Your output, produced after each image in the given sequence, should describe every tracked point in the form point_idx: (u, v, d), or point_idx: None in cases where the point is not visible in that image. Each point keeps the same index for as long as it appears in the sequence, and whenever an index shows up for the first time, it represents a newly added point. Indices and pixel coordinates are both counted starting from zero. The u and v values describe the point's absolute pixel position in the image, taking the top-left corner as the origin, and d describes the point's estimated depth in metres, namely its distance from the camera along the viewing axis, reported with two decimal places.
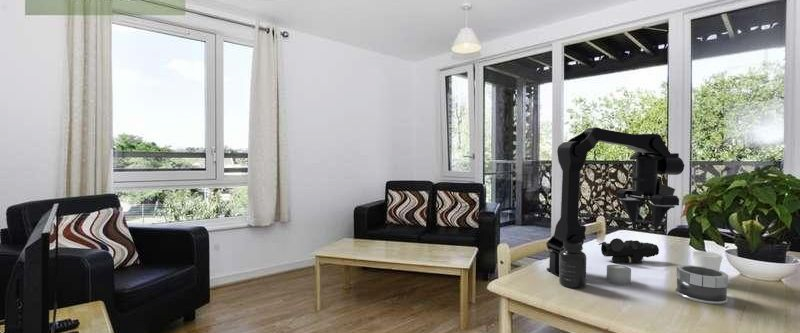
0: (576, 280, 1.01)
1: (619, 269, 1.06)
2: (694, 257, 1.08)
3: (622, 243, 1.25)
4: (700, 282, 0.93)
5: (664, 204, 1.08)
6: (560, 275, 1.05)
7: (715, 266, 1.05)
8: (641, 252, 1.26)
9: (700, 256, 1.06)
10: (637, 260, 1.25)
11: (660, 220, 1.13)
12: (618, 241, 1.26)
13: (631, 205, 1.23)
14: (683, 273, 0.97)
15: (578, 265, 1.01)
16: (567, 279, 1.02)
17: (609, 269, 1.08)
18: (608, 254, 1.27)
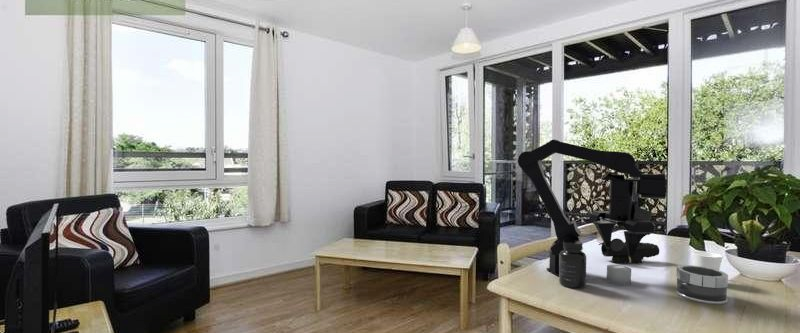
0: (576, 280, 1.01)
1: (619, 269, 1.06)
2: (694, 257, 1.08)
3: (622, 243, 1.24)
4: (700, 282, 0.93)
5: (638, 231, 0.98)
6: (560, 275, 1.05)
7: (715, 266, 1.05)
8: (641, 252, 1.26)
9: (700, 256, 1.06)
10: (637, 260, 1.25)
11: (635, 248, 1.02)
12: (618, 241, 1.26)
13: (605, 229, 1.12)
14: (683, 273, 0.97)
15: (578, 265, 1.01)
16: (567, 279, 1.02)
17: (609, 269, 1.07)
18: (608, 254, 1.27)
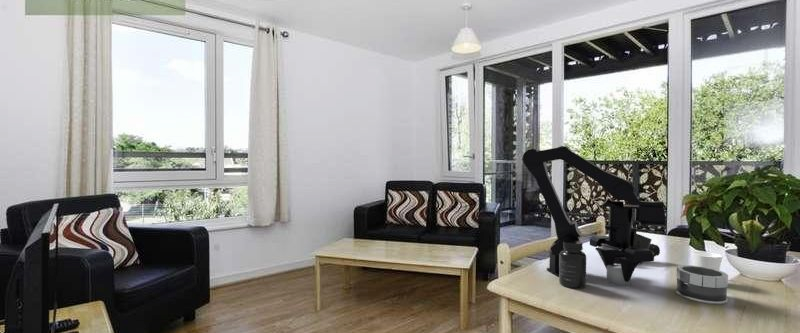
0: (576, 280, 1.01)
1: (619, 269, 1.06)
2: (694, 257, 1.08)
3: None
4: (700, 282, 0.93)
5: (637, 260, 0.98)
6: (560, 275, 1.05)
7: (715, 266, 1.05)
8: None
9: (700, 256, 1.06)
10: None
11: (630, 274, 1.04)
12: None
13: (608, 256, 1.11)
14: (683, 273, 0.97)
15: (578, 265, 1.01)
16: (567, 279, 1.02)
17: (609, 269, 1.07)
18: None
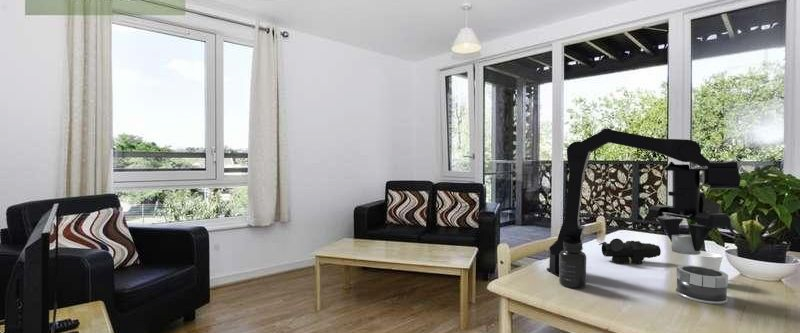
0: (576, 280, 1.01)
1: (688, 238, 0.97)
2: (694, 257, 1.08)
3: (622, 243, 1.24)
4: (700, 282, 0.93)
5: (713, 225, 0.89)
6: (560, 275, 1.05)
7: (715, 266, 1.05)
8: (641, 252, 1.25)
9: (700, 256, 1.06)
10: (637, 261, 1.25)
11: (701, 242, 0.95)
12: (618, 241, 1.25)
13: (672, 225, 1.02)
14: (683, 273, 0.97)
15: (578, 265, 1.01)
16: (567, 279, 1.02)
17: (676, 238, 0.98)
18: (608, 254, 1.27)
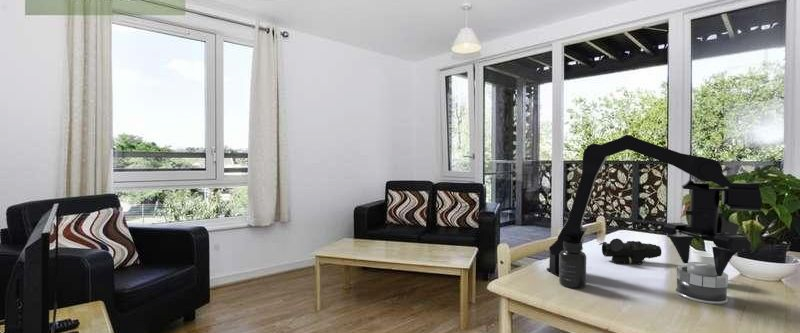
0: (576, 280, 1.01)
1: (704, 267, 0.95)
2: (694, 257, 1.08)
3: (621, 243, 1.24)
4: (700, 282, 0.93)
5: (732, 248, 0.87)
6: (560, 275, 1.05)
7: None
8: (642, 252, 1.25)
9: (700, 256, 1.06)
10: (638, 261, 1.24)
11: (724, 265, 0.92)
12: (618, 241, 1.25)
13: (682, 243, 1.02)
14: (683, 273, 0.97)
15: (578, 265, 1.01)
16: (567, 279, 1.02)
17: (692, 267, 0.96)
18: (608, 254, 1.27)
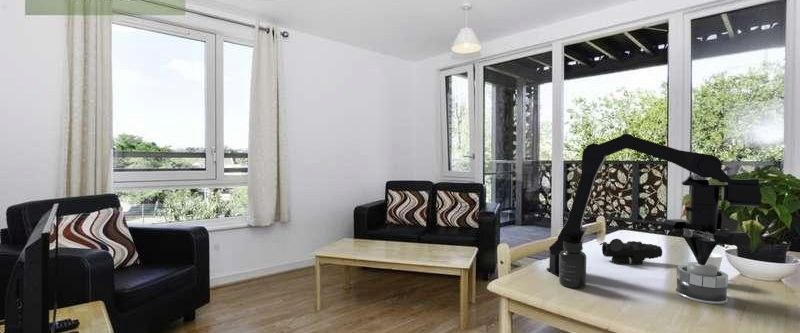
0: (576, 280, 1.01)
1: (704, 267, 0.95)
2: (694, 257, 1.08)
3: (621, 243, 1.24)
4: (700, 282, 0.93)
5: (732, 244, 0.87)
6: (560, 275, 1.05)
7: None
8: (642, 253, 1.24)
9: None
10: (638, 261, 1.24)
11: (707, 256, 0.96)
12: (618, 242, 1.25)
13: None
14: (683, 273, 0.97)
15: (578, 265, 1.01)
16: (567, 279, 1.02)
17: (692, 267, 0.96)
18: (607, 254, 1.27)
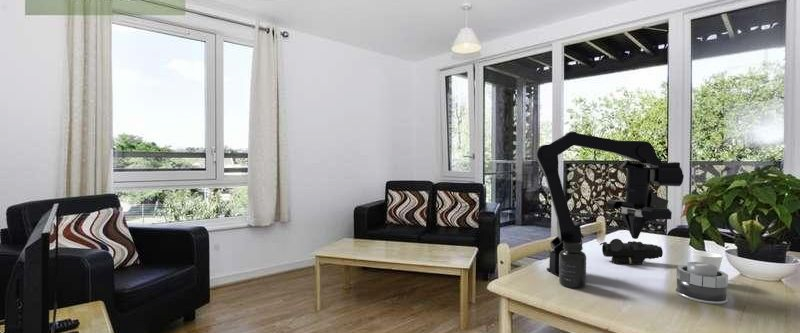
0: (576, 280, 1.01)
1: (704, 267, 0.95)
2: (694, 257, 1.08)
3: (621, 243, 1.24)
4: (700, 282, 0.93)
5: (655, 218, 1.00)
6: (560, 275, 1.05)
7: None
8: (642, 253, 1.24)
9: (700, 256, 1.06)
10: (638, 261, 1.24)
11: (639, 231, 1.09)
12: (618, 242, 1.25)
13: None
14: (683, 273, 0.97)
15: (578, 265, 1.01)
16: (567, 279, 1.02)
17: (692, 267, 0.96)
18: (607, 254, 1.27)
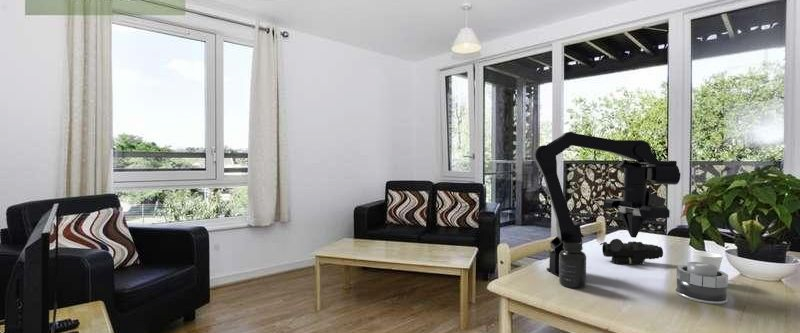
0: (576, 280, 1.01)
1: (704, 267, 0.95)
2: (694, 257, 1.08)
3: (621, 243, 1.24)
4: (700, 282, 0.93)
5: (653, 216, 1.01)
6: (560, 275, 1.05)
7: None
8: (642, 253, 1.24)
9: (700, 256, 1.06)
10: (638, 261, 1.24)
11: (637, 230, 1.09)
12: (617, 242, 1.25)
13: None
14: (683, 273, 0.97)
15: (578, 265, 1.01)
16: (567, 279, 1.02)
17: (692, 267, 0.96)
18: (607, 254, 1.27)
